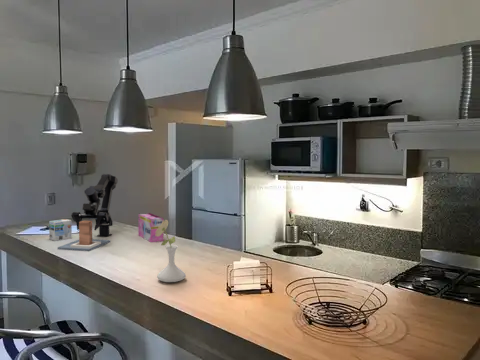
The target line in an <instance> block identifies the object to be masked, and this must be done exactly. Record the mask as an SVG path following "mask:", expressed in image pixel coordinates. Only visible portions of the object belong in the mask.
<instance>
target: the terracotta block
mask: <svg viewBox="0 0 480 360" xmlns="http://www.w3.org/2000/svg"><path fill="white" fill-rule="evenodd" d="M92 239H93V221H92V220H82V221H81V222H79V230H78V240H79V245H91V244H92Z"/></svg>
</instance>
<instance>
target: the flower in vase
mask: <svg viewBox="0 0 480 360" xmlns="http://www.w3.org/2000/svg"><path fill="white" fill-rule="evenodd" d="M168 225H169V221H168V219H165V220H163V222H162V223H161V226H160V225H159V226H158V229H157V231H156V232H155V233H156V234H155V236H157V237H158V236H160V235H161V234H162V233H163V234H164V233H165V236H166V239H164V240H163V241H161V245H160V246H165V249H166V250H167V255H168V263H167V265H166V266H165V267H164V268H163V269H162V270H160V271H159V273H158V274H157V277H156V278H157V280H159V281H161V282H164V283H177V282H180V281H183V280H184V279H185V278H186V277H187V276H186V272H185V271H183V270H182V268H179V267H178V266H177V264H176V262H175V256H176V255H175V254H176V250H177V249H178V247H179V246H178V245H177V244H176V245H175V244H174V243H175V242H176V237H175V236H173V237H171V238H170V239H169V235H168V233H167V228H168ZM167 243H168V244H167Z"/></svg>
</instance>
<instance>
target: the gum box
mask: <svg viewBox="0 0 480 360" xmlns="http://www.w3.org/2000/svg"><path fill="white" fill-rule="evenodd" d="M163 221H164V217H162V216H160V215H157V214H154V213H151V212H147V213H146V214H145V213H138V230H137V233H138V235H137V236H139V237H141V238H143V239H144V238H145V240H146V241H148V242H150V243H155V242H156V243H157V241H158V242H163V241H164V233H162V234H161V235H160V236H158V237H157V236H155V234H156V233H155V232H156V231H157V229H158V226H159V225H160V226H161V223H162V222H163Z"/></svg>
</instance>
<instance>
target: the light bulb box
mask: <svg viewBox="0 0 480 360" xmlns="http://www.w3.org/2000/svg"><path fill="white" fill-rule="evenodd" d="M72 222H73V221H72V220H71V219H67V218H65V219H56V220H49V222H48V227H49V230H48V231H49V233H48V234H49V236H48V237H49V240H51V241H63V240H68V239H72V238H73V237H72V236H73V235H72V233H73V232H72V231H73V230H72V229H73V228H72V226H73V224H72Z"/></svg>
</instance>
